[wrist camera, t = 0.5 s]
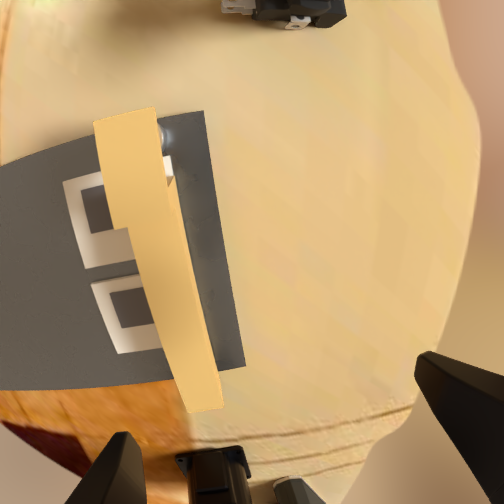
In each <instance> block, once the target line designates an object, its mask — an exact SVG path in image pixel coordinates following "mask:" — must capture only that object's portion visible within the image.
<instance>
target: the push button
mask: <svg viewBox="0 0 504 504" xmlns="http://www.w3.org/2000/svg"><path fill="white" fill-rule="evenodd" d="M227 7H234V9H232V10H229V9H228V8H227ZM221 11H222V13H240V12H242V15H246V14H252V19H253V20H284V21H291V22H289V23H288V24H287V25H286V26H285V27H284V28H285V29H296V30H300V29H303V28H304V27H306V26H307V25H308V24H309V23H310V22H315V26H316V27H319V28H329V27H332V26H333V25H335V24H336V23H338V22H339V21H341V20H342V19H344V18H345V17H346V16H347V14H346V9H345V4H344V0H236V1H229V0H223V1H222V2H221ZM294 25H299V26H298V27H292V26H294Z"/></svg>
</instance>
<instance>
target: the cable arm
mask: <svg viewBox="0 0 504 504" xmlns="http://www.w3.org/2000/svg"><path fill="white" fill-rule="evenodd" d="M93 126H94V133H95V139H96V145H97V151H98V157H99V162H100V168H101V173H102V178H103V183H104V188H105V192H106V197H107V202H108V206H109V210H110V215H111V219H112V223H113V227H114V230H117V229H121V228H126V227H127V228H128V232H129V236H130V240H131V244H132V248H133V251H134V255H135V259H136V263H137V266H138V270H139V273H140V277H141V281H142V284H143V287H144V291H145V294H146V297H147V301H148V304H149V307H150V310H151V313H152V317H153V320H154V323H155V326H156V329H157V332H158V335H159V338H160V341H161V343H162V346H163V349H164V352H165V355H166V357H167V360H168V363H169V366H170V368H171V371H172V374H173V376H174V379H175V382H176V384H177V387H178V389H179V392H180V394H181V397H182V399H183V402H184V404H185V407H186V409H187V411H188V413H193V412H200V411H206V410H212V409H218V408H224V403H223V397H222V391H221V384H220V378H219V374H218V370H217V366H216V363H215V359H214V355H213V351H212V347H211V343H210V339H209V335H208V331H207V327H206V323H205V319H204V315H203V311H202V307H201V302H200V298H199V294H198V289H197V285H196V281H195V276H194V272H193V267H192V262H191V258H190V253H189V248H188V243H187V238H186V234H185V229H184V224H183V218H182V213H181V208H180V203H179V197H178V192H177V186H176V181H175V175H173V176H168V177H166V174H165V168H164V162H163V156H162V150H161V144H160V138H159V131H158V125H157V118H156V111H155V108H154V107H149V108H144V109H140V110H135V111H131V112H127V113H123V114H119V115H115V116H111V117H108V118H104V119H100V120H97V121H93Z"/></svg>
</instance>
